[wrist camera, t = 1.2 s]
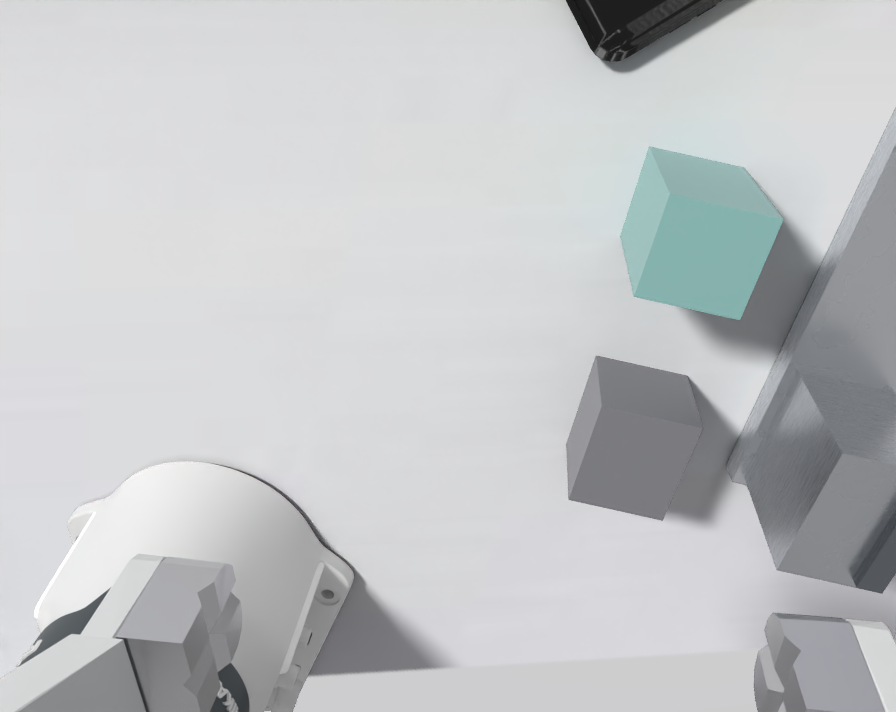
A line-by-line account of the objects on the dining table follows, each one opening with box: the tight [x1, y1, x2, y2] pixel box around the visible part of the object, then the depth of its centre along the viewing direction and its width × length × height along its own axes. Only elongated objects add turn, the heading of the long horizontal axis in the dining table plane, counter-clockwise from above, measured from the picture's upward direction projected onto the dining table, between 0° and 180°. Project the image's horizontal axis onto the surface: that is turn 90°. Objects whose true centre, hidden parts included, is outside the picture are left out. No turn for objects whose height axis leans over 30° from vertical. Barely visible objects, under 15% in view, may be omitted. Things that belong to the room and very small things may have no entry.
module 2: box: [566, 356, 703, 521], centre depth 41 cm, size 6×5×5 cm
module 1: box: [620, 147, 784, 320], centre depth 34 cm, size 4×4×7 cm
